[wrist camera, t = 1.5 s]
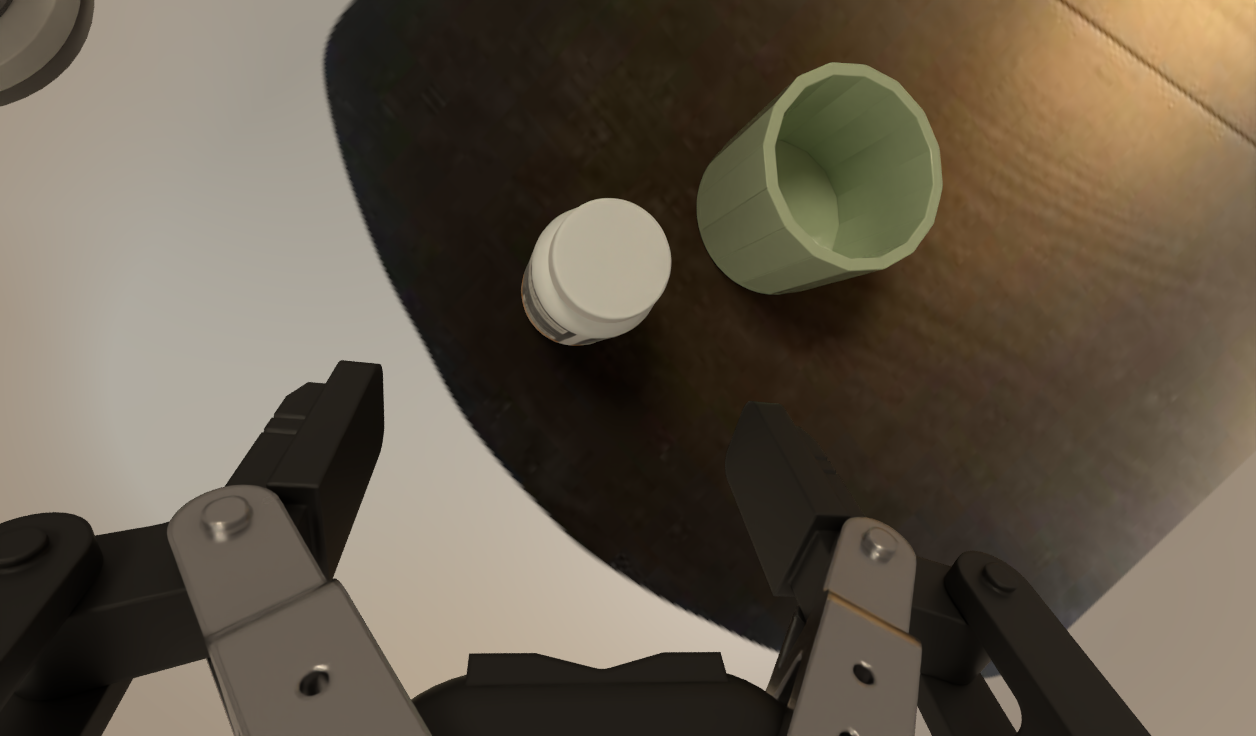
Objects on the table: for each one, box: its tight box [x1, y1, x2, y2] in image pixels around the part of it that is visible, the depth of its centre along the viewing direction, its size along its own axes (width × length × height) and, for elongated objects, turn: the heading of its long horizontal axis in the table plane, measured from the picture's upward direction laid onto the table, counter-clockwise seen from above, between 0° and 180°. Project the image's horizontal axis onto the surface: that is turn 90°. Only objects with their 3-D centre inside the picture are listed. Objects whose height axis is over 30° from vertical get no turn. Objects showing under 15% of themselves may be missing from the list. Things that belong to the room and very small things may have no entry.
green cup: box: [697, 62, 943, 295], centre depth 30 cm, size 10×10×8 cm
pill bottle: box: [521, 198, 671, 345], centre depth 26 cm, size 6×6×10 cm
